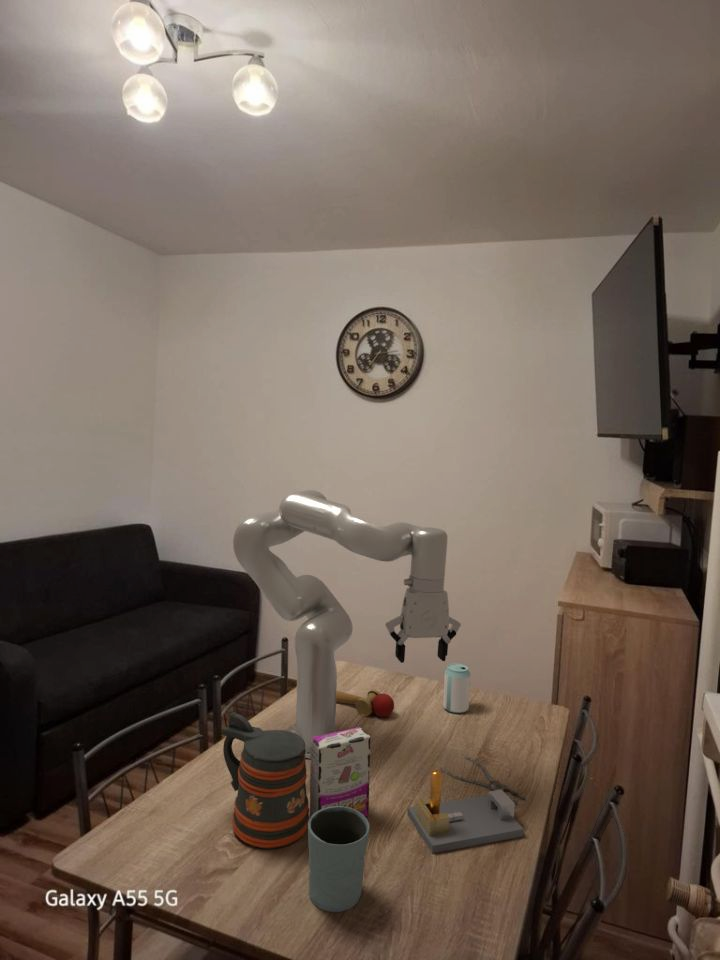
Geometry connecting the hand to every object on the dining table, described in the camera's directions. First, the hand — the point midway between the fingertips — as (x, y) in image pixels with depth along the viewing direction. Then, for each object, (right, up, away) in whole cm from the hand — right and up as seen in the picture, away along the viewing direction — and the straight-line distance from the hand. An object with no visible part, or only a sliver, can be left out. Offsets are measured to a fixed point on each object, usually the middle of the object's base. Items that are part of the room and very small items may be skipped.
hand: (421, 659), depth 140 cm
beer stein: (-33, -27, -18) cm, 46 cm away
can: (+13, -24, +36) cm, 45 cm away
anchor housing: (+14, -26, -14) cm, 33 cm away
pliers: (+15, -27, +1) cm, 31 cm away
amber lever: (+3, -26, -18) cm, 32 cm away
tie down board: (+7, -28, -17) cm, 33 cm away
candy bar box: (-18, -27, -15) cm, 36 cm away
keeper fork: (0, -26, -19) cm, 32 cm away
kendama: (-13, -24, +33) cm, 42 cm away
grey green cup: (-17, -29, -36) cm, 49 cm away
